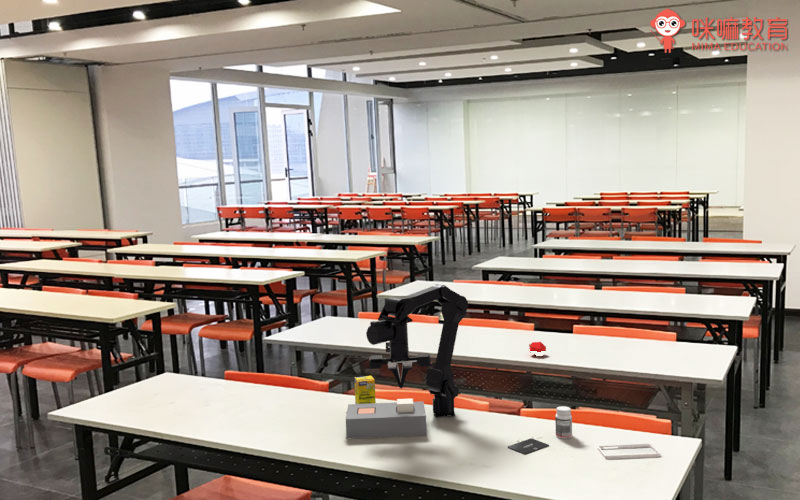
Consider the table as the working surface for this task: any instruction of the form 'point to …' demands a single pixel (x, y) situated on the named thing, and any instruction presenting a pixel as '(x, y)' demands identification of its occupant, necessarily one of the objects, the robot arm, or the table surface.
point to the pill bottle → (563, 422)
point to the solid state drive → (528, 446)
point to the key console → (385, 421)
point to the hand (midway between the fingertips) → (401, 388)
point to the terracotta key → (366, 410)
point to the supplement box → (364, 390)
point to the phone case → (628, 454)
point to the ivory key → (405, 405)
